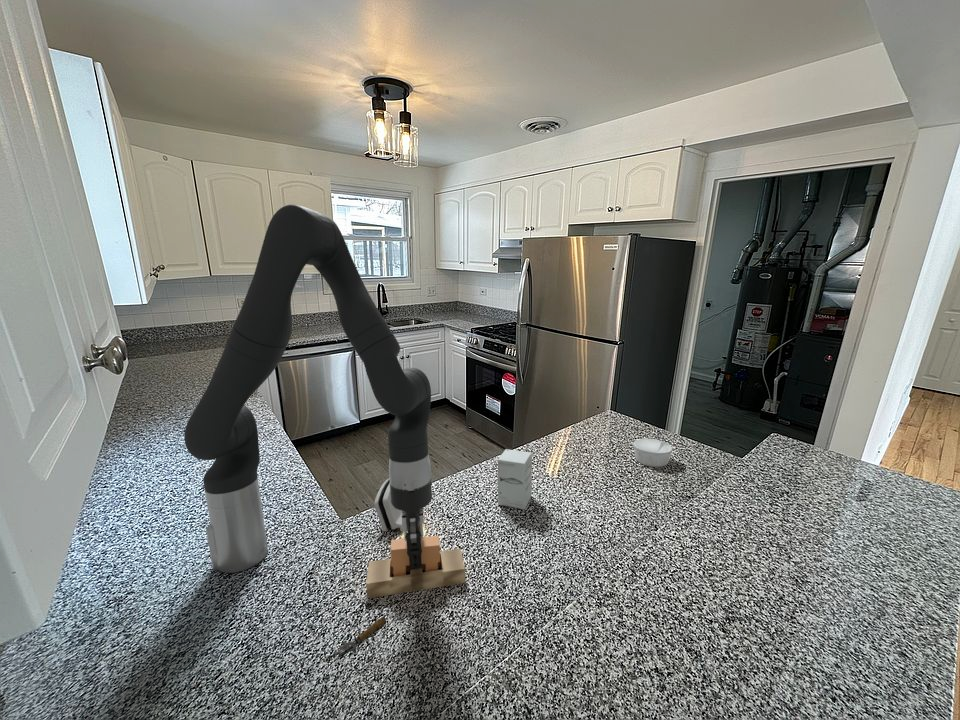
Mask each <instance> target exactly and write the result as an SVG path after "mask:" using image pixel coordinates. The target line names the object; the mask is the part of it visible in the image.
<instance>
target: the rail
mask: <svg viewBox="0 0 960 720" xmlns="http://www.w3.org/2000/svg"><path fill="white" fill-rule="evenodd" d="M438 568H441V569H438V570H436V571H430V572H426V571H425V564H422V567H421V568H420V569H413V570H411V569H410V565H406V573H410V574H406V575H403V576H397V577H394V576H392V575H394V568H393V567H391V557H390V558H385V559H379V560H371V561H368V566H367V575H366V581H365V587H366V597H367V599H372V598H378V597H383V596H384V597H385V596H391V595H397V594H402V593H403V594H405V593H409V592H416V591H417V592H418V591H422V590H429V589H435V588H442V587H448V586H454V585H460V584H465V583H466V570H465V569H466V567H465V563H464V558H463V553H462V549H461V548H456V549H447V550H440V562H438ZM423 571H424V572H423ZM391 574H392V575H391Z"/></svg>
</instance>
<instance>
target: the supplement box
mask: <svg viewBox="0 0 960 720" xmlns="http://www.w3.org/2000/svg"><path fill="white" fill-rule="evenodd" d="M532 459H533V453H532V452H529V451H521V450H515V449H508V448H505V449H504V450H503V452H502V453H501V454H500V456H499V457H498V458H497V505H498V506H503V507H504V506H506V507H511V508H516V509H520V510H525V509H526V508H527V506H528V505H529V504H528V503H530V502H529V501H530V500H531V498H532V490H533V489H532V487H533V485H532V484H533V482H532V481H533V478H532V477H533V476H532V475H533V460H532Z"/></svg>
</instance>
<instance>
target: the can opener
mask: <svg viewBox="0 0 960 720" xmlns="http://www.w3.org/2000/svg"><path fill="white" fill-rule="evenodd" d="M386 622H387V619H386V617H385V616H382V617H380V618H379V619H377V620H376V621H374V622H373V623H372V624H371V625H370V626H369V627H368V628H367V629H365V630H364V631H363V632H362V633H360V634H358V635H357V636H356V637H355V639H354V640H353V641H347V642H346V643H344V644H343V645H341V646H340V647H339V648H338V649H337V650H338V652H336V651H335V653H334V655H335V656H336V655H337V654H338V656H339V657H340V658H341V657H342V652H345V654H347V653H348V651H350V652H353V651H354V650H356V648H357V647H358V646H357V645H358V644H360V643H362V642H363V641H364V640H366V639H367V638H368V637H369V636H370V635H372V634H374V632H376V631H377V630H378V629H380V628H382V626H384V625H385V623H386ZM351 648H352V649H351ZM339 649H340V650H339Z"/></svg>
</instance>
